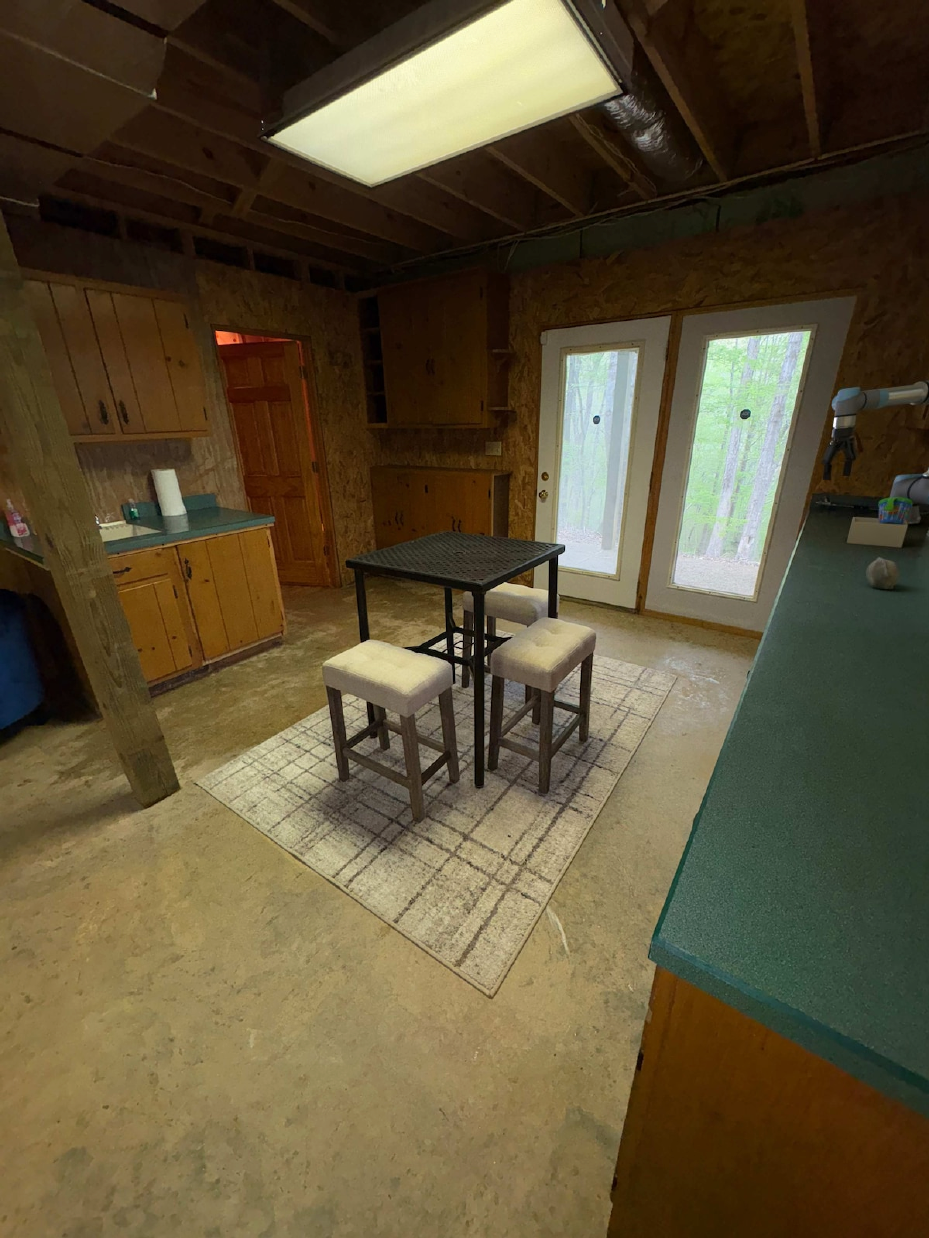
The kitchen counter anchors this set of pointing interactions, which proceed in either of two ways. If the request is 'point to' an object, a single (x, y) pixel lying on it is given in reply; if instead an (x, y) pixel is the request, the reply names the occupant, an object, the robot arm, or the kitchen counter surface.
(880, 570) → the garlic bulb
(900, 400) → the robot arm
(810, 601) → the kitchen counter surface
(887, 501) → the snack cup
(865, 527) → the tan rectangular box
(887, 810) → the kitchen counter surface
